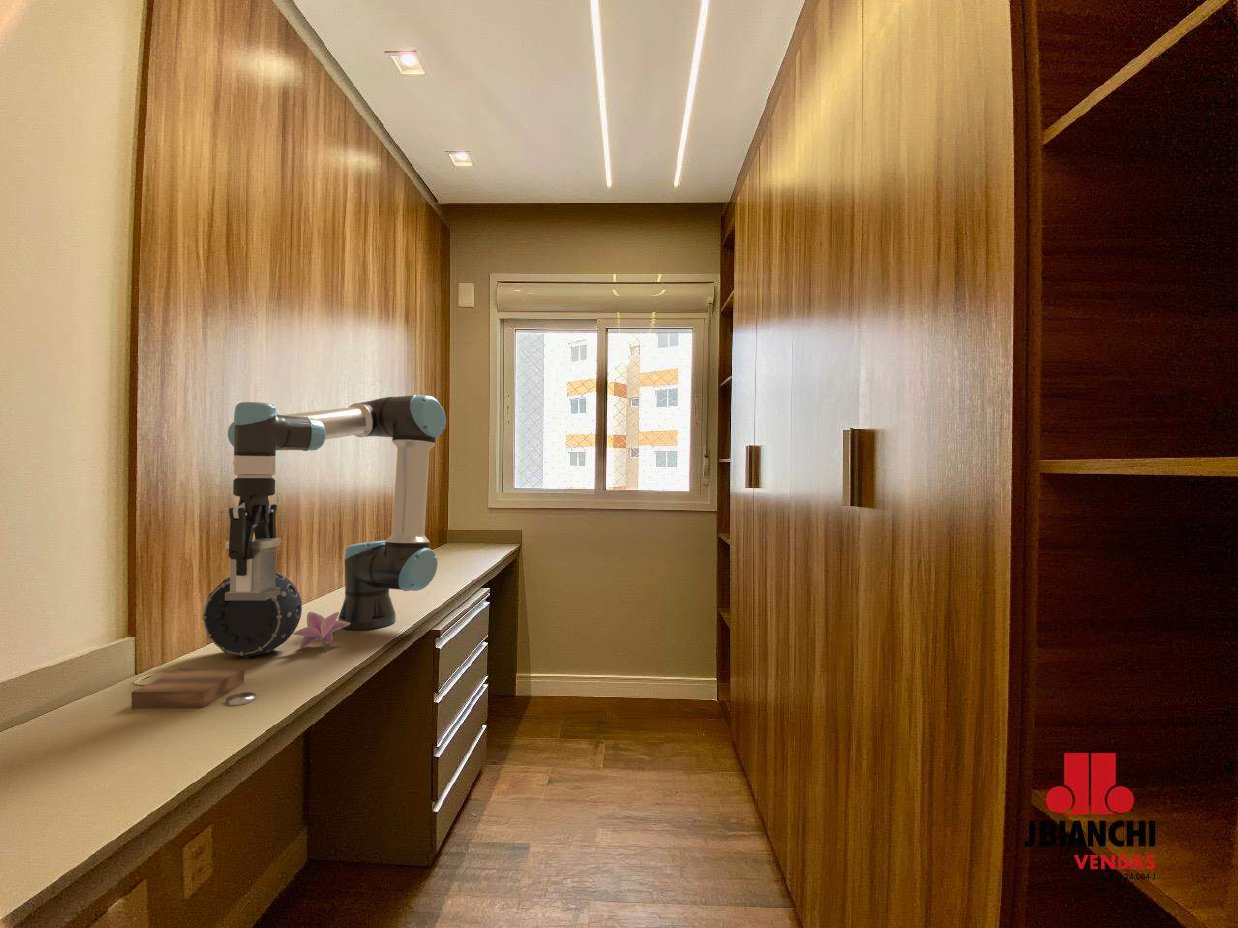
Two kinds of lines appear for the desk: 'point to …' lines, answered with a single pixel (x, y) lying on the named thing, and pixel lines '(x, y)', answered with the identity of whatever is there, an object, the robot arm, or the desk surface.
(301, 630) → the lily
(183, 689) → the walnut stand
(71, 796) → the desk surface
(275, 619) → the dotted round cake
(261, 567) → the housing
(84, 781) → the desk surface
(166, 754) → the desk surface
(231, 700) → the domed puck
